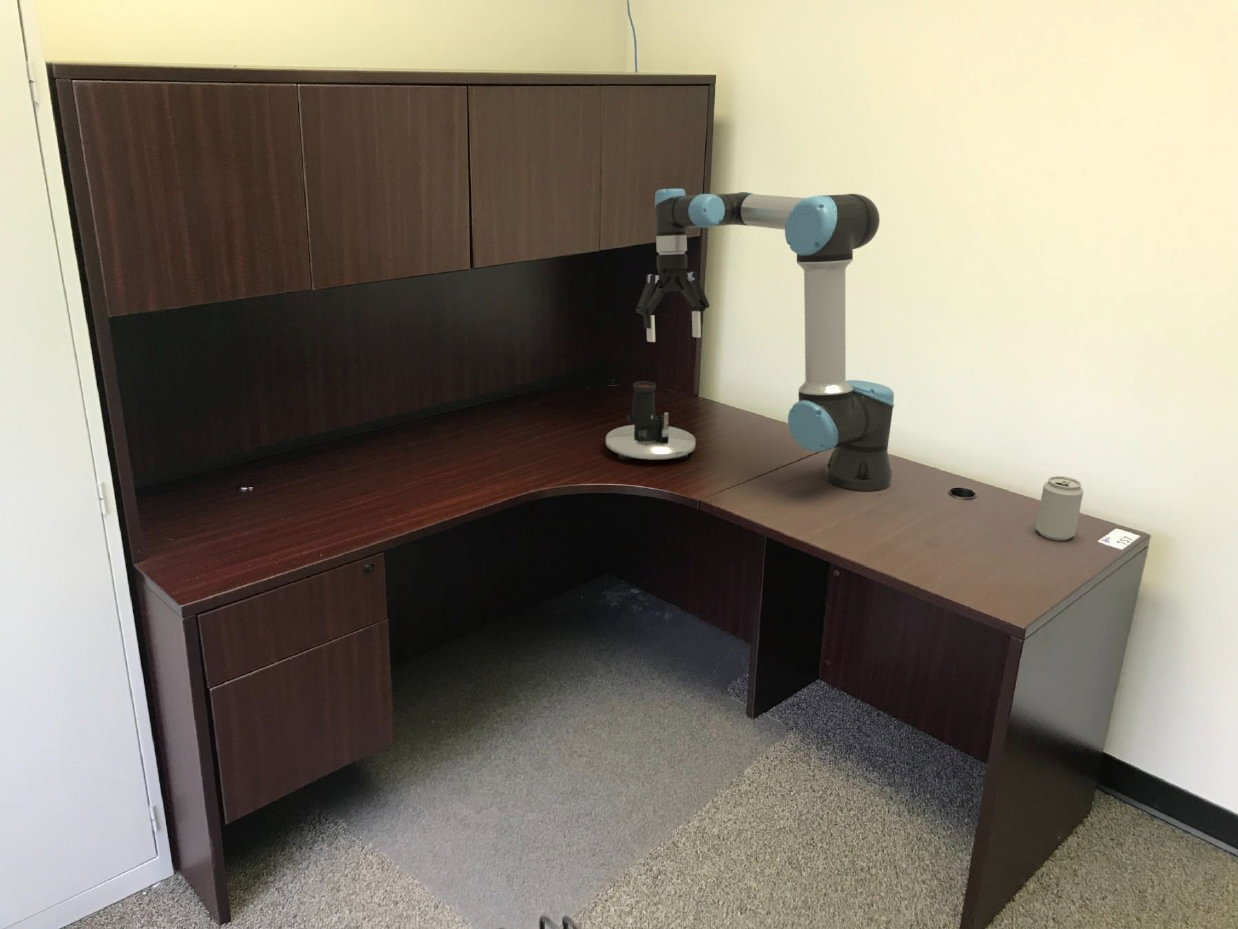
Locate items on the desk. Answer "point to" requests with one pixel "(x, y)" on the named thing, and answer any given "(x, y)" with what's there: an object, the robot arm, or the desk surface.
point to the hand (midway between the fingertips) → (674, 339)
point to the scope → (647, 415)
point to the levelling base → (650, 444)
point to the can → (1059, 508)
